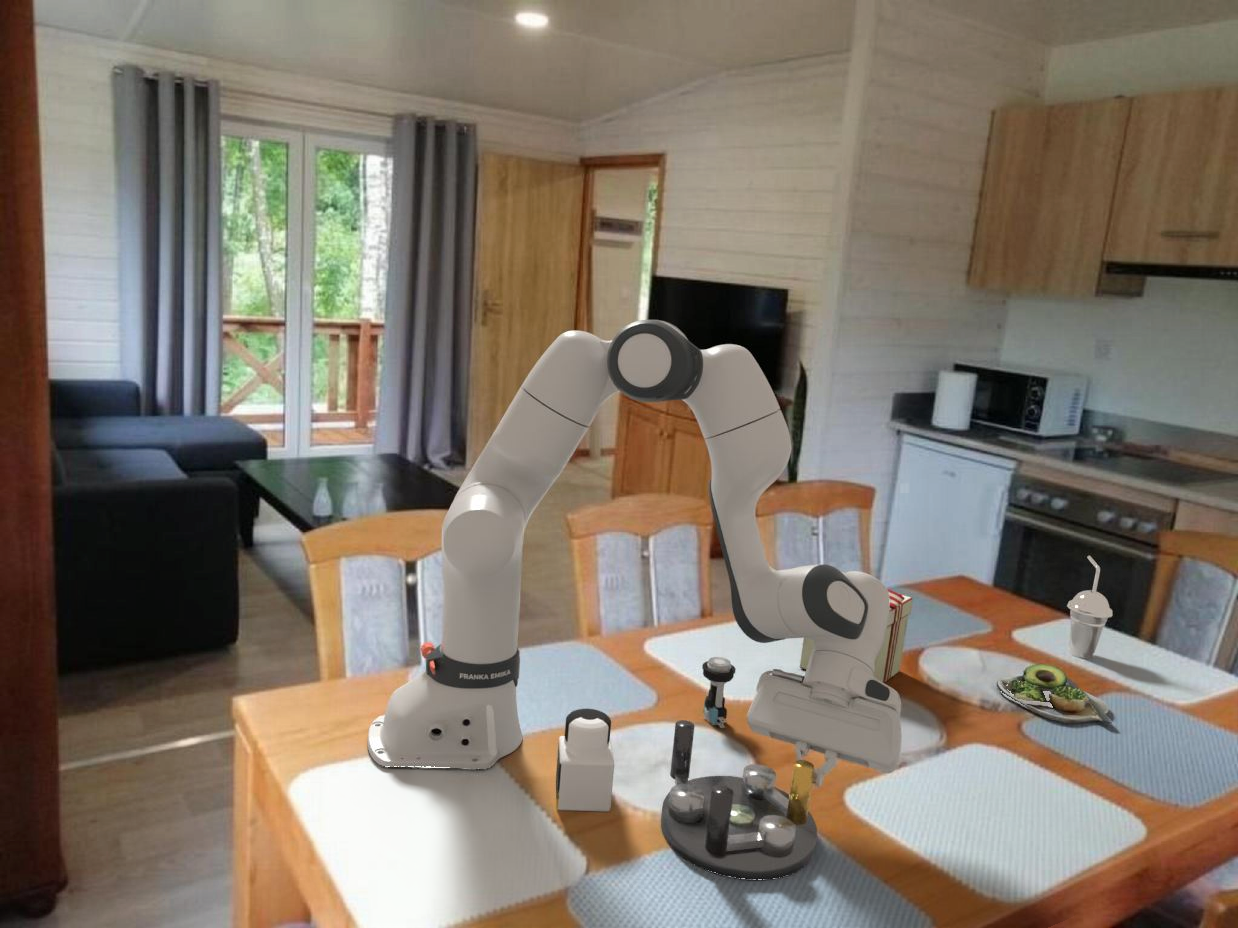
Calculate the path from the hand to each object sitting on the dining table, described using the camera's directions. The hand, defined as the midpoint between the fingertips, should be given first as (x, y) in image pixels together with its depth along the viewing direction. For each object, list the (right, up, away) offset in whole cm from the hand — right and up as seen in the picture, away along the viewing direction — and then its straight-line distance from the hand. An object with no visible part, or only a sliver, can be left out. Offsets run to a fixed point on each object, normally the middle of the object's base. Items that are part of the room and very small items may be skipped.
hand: (807, 782), depth 120 cm
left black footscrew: (-16, -3, +3) cm, 17 cm away
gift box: (+19, +2, +57) cm, 60 cm away
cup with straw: (+72, +2, +73) cm, 103 cm away
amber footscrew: (-4, -4, +3) cm, 6 cm away
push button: (-9, -1, +30) cm, 32 cm away
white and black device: (-29, -4, +5) cm, 30 cm away
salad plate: (+54, -2, +49) cm, 73 cm away
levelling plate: (-9, -6, +1) cm, 11 cm away
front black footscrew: (-9, -6, -7) cm, 12 cm away
